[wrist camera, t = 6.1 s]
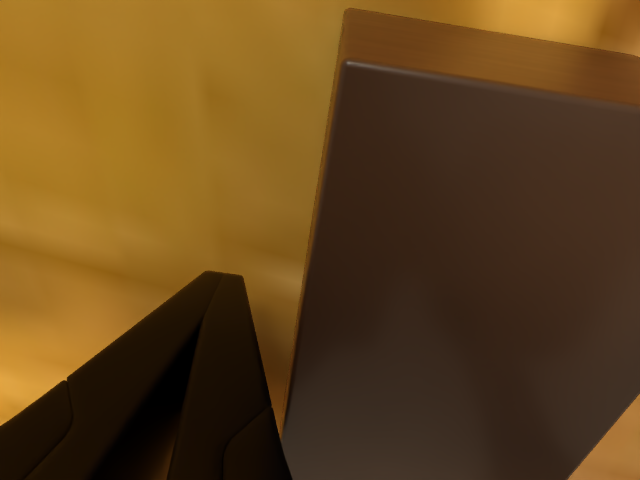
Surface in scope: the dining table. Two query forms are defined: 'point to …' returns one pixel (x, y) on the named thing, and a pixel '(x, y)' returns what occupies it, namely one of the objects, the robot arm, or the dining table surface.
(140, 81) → the dining table surface
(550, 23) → the dining table surface
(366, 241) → the block
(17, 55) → the dining table surface
